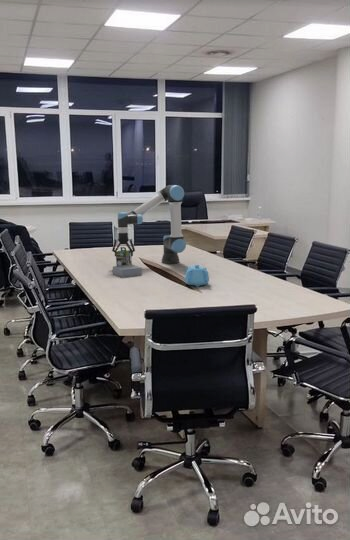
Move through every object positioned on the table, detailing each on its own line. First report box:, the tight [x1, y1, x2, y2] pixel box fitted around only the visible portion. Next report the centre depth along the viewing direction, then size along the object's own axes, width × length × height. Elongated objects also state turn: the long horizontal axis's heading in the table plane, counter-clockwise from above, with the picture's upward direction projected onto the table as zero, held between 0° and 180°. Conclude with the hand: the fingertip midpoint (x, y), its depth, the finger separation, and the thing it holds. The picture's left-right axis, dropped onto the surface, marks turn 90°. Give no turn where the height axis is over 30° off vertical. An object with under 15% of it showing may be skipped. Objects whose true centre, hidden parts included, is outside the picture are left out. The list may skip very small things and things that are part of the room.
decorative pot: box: [184, 264, 210, 288], centre depth 330 cm, size 16×16×14 cm
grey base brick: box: [112, 263, 143, 278], centre depth 365 cm, size 16×16×6 cm
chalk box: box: [115, 246, 133, 266], centre depth 386 cm, size 9×9×15 cm
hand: (123, 260), depth 386 cm, fingers closed on chalk box, 10 cm apart
